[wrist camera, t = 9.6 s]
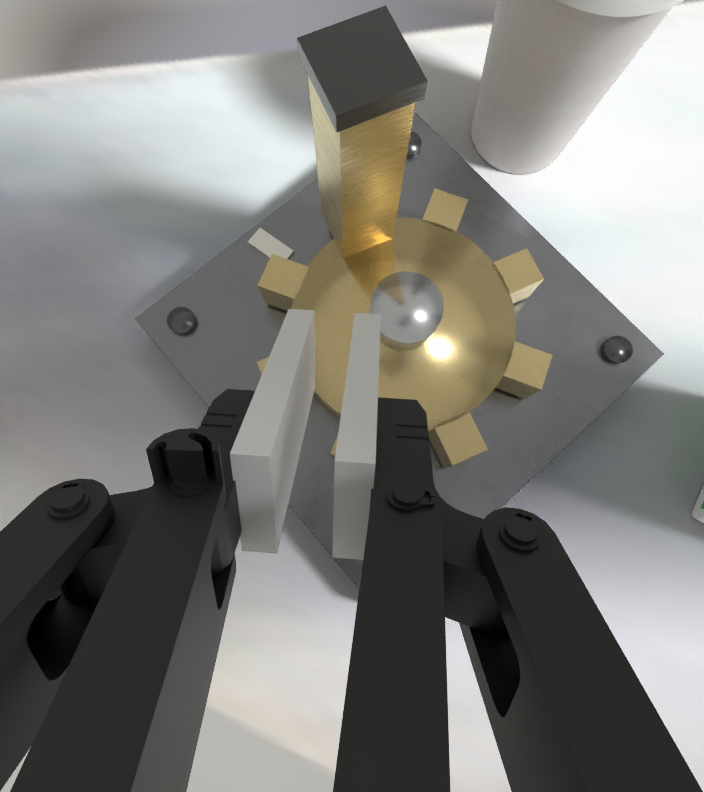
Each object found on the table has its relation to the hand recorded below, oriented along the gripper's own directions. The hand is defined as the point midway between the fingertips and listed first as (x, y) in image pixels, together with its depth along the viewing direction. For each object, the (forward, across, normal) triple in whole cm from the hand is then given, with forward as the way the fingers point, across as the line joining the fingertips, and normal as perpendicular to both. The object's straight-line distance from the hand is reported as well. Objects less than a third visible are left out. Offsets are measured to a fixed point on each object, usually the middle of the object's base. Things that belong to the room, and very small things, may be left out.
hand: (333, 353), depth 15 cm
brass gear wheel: (+13, +3, -6) cm, 15 cm away
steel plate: (+15, +3, -8) cm, 17 cm away
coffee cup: (+27, +10, +3) cm, 29 cm away
